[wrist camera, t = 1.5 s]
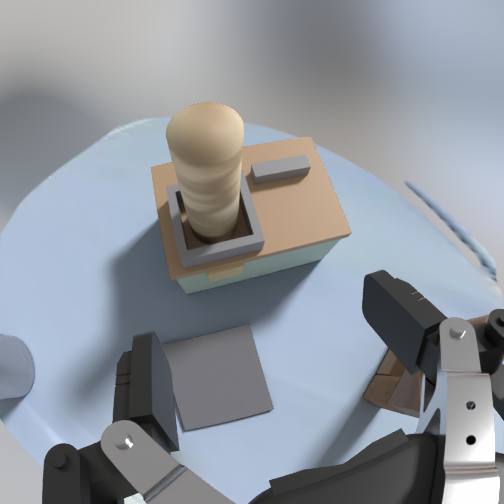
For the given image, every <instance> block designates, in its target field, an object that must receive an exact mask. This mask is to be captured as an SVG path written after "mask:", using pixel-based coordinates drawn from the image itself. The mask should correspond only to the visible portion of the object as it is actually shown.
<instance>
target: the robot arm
mask: <svg viewBox="0 0 504 504" xmlns="http://www.w3.org/2000/svg"><path fill="white" fill-rule="evenodd" d="M362 311H363V315H364V317H365V319H366V321H367V322H368V323H369V325H370V326H371V327H372V328H373V329H374V331H375V332H376V333H377V334H378V335H379V337H380V338H381V339H382V340H383V341H384V343H385V344H386V345H387V346H388V348H389V349H390V350H391V351H392V352H393V354H394V355H395V356H396V357H397V359H398V360H399V361H400V362H401V364H402V365H403V366H404V367H405V369H406V370H407V371H408V372H409V374H410V375H413V374H415V373H417V372H419V371H422V372H423V373H424V375H423V379H422V393H421V407H420V417H419V422H418V426H417V429H416V432H415V434H408V435H405V433H404V432H403V430H402V429H399V430H397V431H395V432H393V433H391V434H389V435H387V436H385V437H383V438H381V439H379V440H377V441H375V442H372V443H371V444H370V445H369V446H367V447H366V448H365V449H363V450H362V451H361V452H359V453H358V454H357V455H355V456H354V457H353V458H351V459H350V460H348V461H347V462H346V463H344V464H341V465H336V466H329V467H322V468H314V469H306V470H302V471H299V472H296V473H292V474H289V475H286V476H283V477H279V478H276V479H272V480H269V482H270V485H271V488H269V489H267V490H265V491H264V492H262V493H261V494H259V495H258V496H256V497H255V498H254V499H253V500H252V501H250V502H249V503H248V504H504V454H502V453H497V452H495V434H494V413H493V407H494V408H495V410H496V411H497V412H498V414H499V415H500V416H501V418H502V419H503V420H504V365H503V364H502V362H503V360H504V309H496V310H493V311H492V312H491V313H490V314H489V317H488V320H487V322H485V323H480V324H475V325H471V324H470V323H469V322H468V321H466V320H464V319H461V318H455V317H453V318H447V317H446V316H445V315H444V314H443V313H441V312H440V311H439V310H438V309H437V308H436V307H435V306H434V305H433V304H432V303H431V302H429V301H428V300H427V299H426V298H424V296H423V295H422V294H420V293H419V292H417V290H416V289H415V288H414V287H412V286H411V285H410V284H409V283H407V282H405V281H403V280H400V279H398V278H396V279H394V278H393V277H392V276H391V275H390V274H389V273H388V272H386V271H385V270H380V271H377V272H374V273H371V274H368V275H366V276H365V278H364V287H363V301H362ZM116 376H117V377H116V383H115V385H116V387H115V395H114V408H113V422H112V424H111V425H109V426H108V427H107V428H106V429H105V431H104V432H103V434H102V437H101V440H100V441H99V442H97V443H94V444H92V445H89V446H87V447H84V448H82V449H79V450H77V449H76V448H75V447H73V446H72V445H70V444H66V443H62V444H58V445H55V446H54V447H52V448H51V449H50V450H49V451H48V453H47V454H46V457H45V460H44V471H43V491H42V504H124V498H126V497H129V496H132V495H134V494H137V493H140V494H141V495H142V496H143V498H144V501H145V502H146V503H147V504H235V503H234V502H232V501H231V500H230V499H228V498H227V497H225V496H224V495H223V494H221V493H220V492H218V491H217V490H216V489H214V488H213V487H212V486H210V485H209V484H208V483H206V482H205V481H204V480H202V479H201V478H200V477H199V476H197V475H196V474H195V473H194V472H192V471H191V470H190V469H188V468H187V467H186V466H184V465H181V464H180V463H179V462H177V461H176V460H175V459H174V458H173V457H172V456H171V455H170V452H174V451H180V450H179V442H178V434H177V425H176V416H175V405H174V394H173V382H172V373H171V369H170V365H169V362H168V360H167V358H166V355H165V353H164V351H163V349H162V347H161V345H160V342H159V340H158V338H157V336H156V334H155V332H149V333H144V334H140V335H135V336H134V337H133V346H132V351H128V352H124V353H123V355H122V357H121V358H120V360H119V362H118V364H117V373H116ZM33 381H34V363H33V359H32V356H31V354H30V351H29V350H28V348H27V346H26V345H25V344H24V343H23V342H22V341H21V340H20V339H18V338H16V337H14V336H8V335H3V334H0V399H10V398H19V397H23V396H25V395H26V394H27V393H28V392H29V391H30V389H31V387H32V385H33Z"/></svg>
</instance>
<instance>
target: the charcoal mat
mask: <svg viewBox="0 0 504 504" xmlns="http://www.w3.org/2000/svg"><path fill="white" fill-rule="evenodd" d="M161 347H162V349H163V351H164V353H165V355H166V358H167V360H168V362H169V365H170V369H171V373H172V382H173V392H174V396H175V399H176V402H177V406H178V409H179V412H180V416H181V419H182V422H183V425H184V428H185V430H190V429H195V428H200V427H205V426H210V425H214V424H219V423H223V422H228V421H232V420H236V419H240V418H244V417H248V416H251V415H255V414H259V413H262V412H266V411H269V410H273V409H274V408H273V405H272V401H271V398H270V394H269V391H268V388H267V384H266V381H265V377H264V374H263V371H262V367H261V364H260V360H259V357H258V353H257V350H256V346H255V343H254V339H253V336H252V332H251V329H250V325H249V324H246V325H242V326H238V327H235V328H231V329H227V330H223V331H219V332H215V333H211V334H207V335H203V336H198V337H194V338H190V339H186V340H181V341H177V342H172V343H168V344H163V345H161Z"/></svg>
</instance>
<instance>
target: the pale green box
mask: <svg viewBox="0 0 504 504" xmlns="http://www.w3.org/2000/svg"><path fill="white" fill-rule="evenodd" d="M151 173H152V180H153V187H154V194H155V200H156V206H157V212H158V218H159V224H160V230H161V236H162V241H163V247H164V252H165V257H166V262H167V267H168V272H169V277H170V279H171V280H172V281H173V280H177V282H178V283H179V284H180V286H181V287H182V289H183V290H184V291H185V293H186V294H190V293H194V292H198V291H202V290H206V289H210V288H214V287H218V286H222V285H226V284H230V283H234V282H238V281H242V280H246V279H250V278H254V277H258V276H262V275H265V274H269V273H273V272H277V271H281V270H285V269H289V268H292V267H296V266H300V265H304V264H307V263H311V262H315V261H319V260H322V259H323V258H324V257H325V256H326V254H327V253H328V252H329V251H330V250H331V249H332V248H333V247H334V246H335V245H336V244H337V243H338V241H339V240H340V239H341V238H345V237H348V236H349V235H350V234H351V233H352V232H351V230H350V227H349V225H348V222H347V219H346V217H345V214H344V212H343V210H342V207H341V205H340V202H339V200H338V197H337V195H336V193H335V190H334V188H333V186H332V183H331V181H330V179H329V176H328V174H327V172H326V169H325V167H324V165H323V163H322V161H321V158H320V156H319V154H318V152H317V150H316V148H315V145H314V143H313V141H312V139H311V137H304V138H296V139H289V140H282V141H276V142H269V143H263V144H257V145H252V146H246V147H243V150H242V164H241V179H240V194H239V209H238V225H237V230H236V232H235V234H234V235H233V237H232V238H231V239H230V240H228V241H224V242H220V243H216V244H212V245H207V244H204V243H202V242H200V241H199V240H198V239H197V238H196V237H195V236H194V235H193V233H192V230H191V227H190V223H189V220H188V216H187V213H186V209H185V206H184V202H183V199H182V195H181V191H180V188H179V184H178V180H177V177H176V173H175V169H174V165H173V162H170V163H166V164H162V165H158V166H154V167H151Z"/></svg>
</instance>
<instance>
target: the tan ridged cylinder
mask: <svg viewBox="0 0 504 504" xmlns="http://www.w3.org/2000/svg"><path fill="white" fill-rule="evenodd" d="M243 136H244V125H243V121H242V119H241V117H240V116H239V115H238V114H237V113H236V112H235V111H234V110H233V109H231V108H230V107H227V106H225V105H222V104H218V103H212V102H211V103H210V102H206V103H197V104H193V105H190V106H188V107H186V108H184V109H182V110H181V111H179V112H178V113H176V114H175V115H174V116H173V118H172V119H171V120H170V122H169V124H168V126H167V129H166V138H167V142H168V146H169V150H170V154H171V158H172V162H173V165H174V169H175V173H176V177H177V180H178V184H179V188H180V191H181V195H182V199H183V202H184V206H185V209H186V213H187V216H188V220H189V223H190V227H191V230H192V233H193V235H194V236H195V237H196V238H197V239H198V240H199V241H200V242H202V243H204V244H207V245H212V244H216V243H220V242H224V241H228V240H230V239H231V238H232V237H233V235H234V234H235V232H236V230H237V225H238V209H239V194H240V179H241V164H242V150H243Z"/></svg>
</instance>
